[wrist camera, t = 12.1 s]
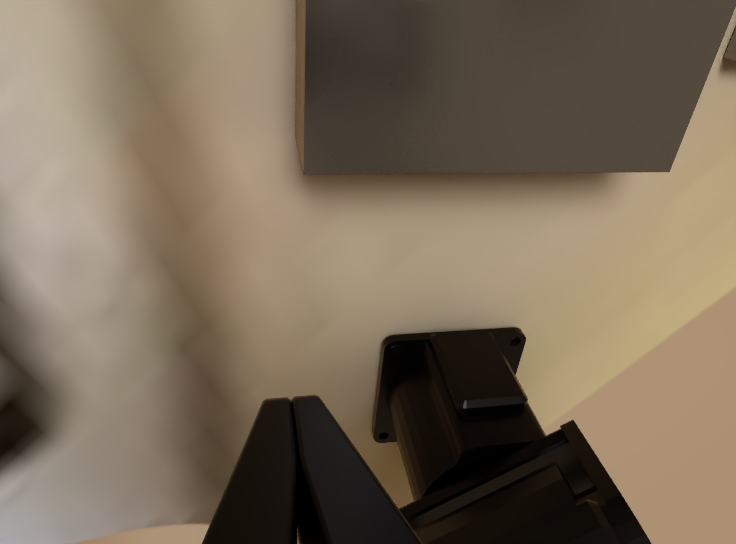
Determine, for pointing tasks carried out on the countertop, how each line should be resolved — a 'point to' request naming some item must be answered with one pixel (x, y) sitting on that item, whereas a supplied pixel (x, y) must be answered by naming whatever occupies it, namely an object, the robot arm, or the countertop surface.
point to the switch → (500, 84)
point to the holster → (731, 48)
